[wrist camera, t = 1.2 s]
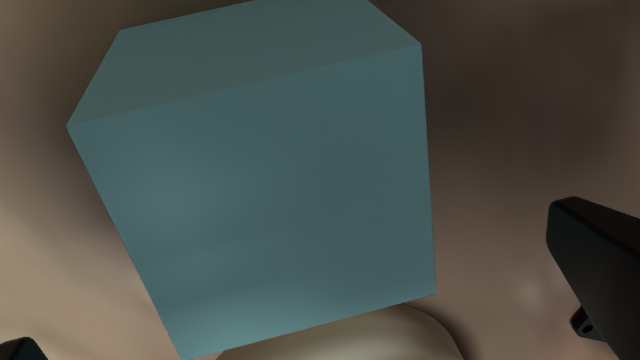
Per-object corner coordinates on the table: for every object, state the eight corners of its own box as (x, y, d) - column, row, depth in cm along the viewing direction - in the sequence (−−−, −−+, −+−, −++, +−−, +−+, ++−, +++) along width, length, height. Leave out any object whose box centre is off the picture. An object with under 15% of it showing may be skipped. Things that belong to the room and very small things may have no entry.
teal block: (342, -21, 14) (421, 43, 9) (368, 167, 17) (436, 293, 12) (120, 29, 13) (65, 125, 8) (190, 211, 16) (182, 361, 11)
